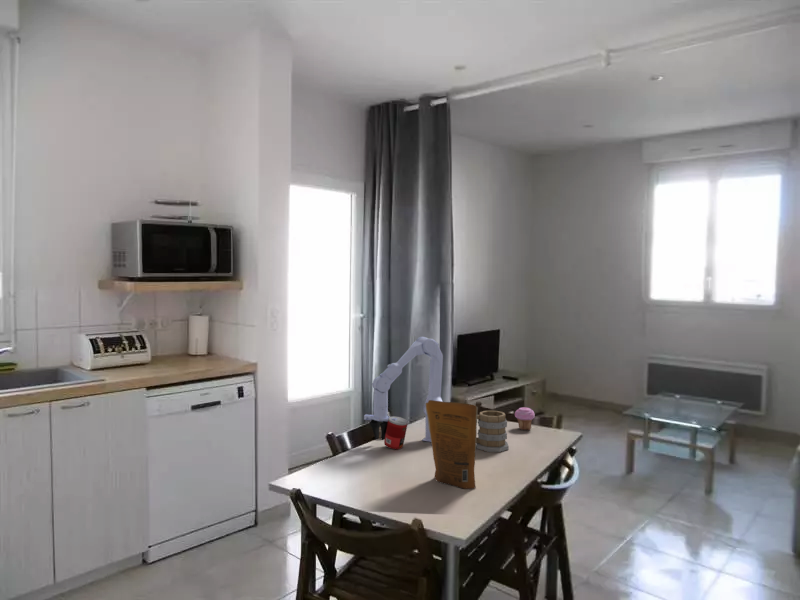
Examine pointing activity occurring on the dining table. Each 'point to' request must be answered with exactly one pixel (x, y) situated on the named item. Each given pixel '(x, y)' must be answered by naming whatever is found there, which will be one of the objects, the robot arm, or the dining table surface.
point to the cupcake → (524, 418)
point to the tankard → (492, 431)
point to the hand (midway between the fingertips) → (380, 439)
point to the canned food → (395, 433)
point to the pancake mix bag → (453, 441)
